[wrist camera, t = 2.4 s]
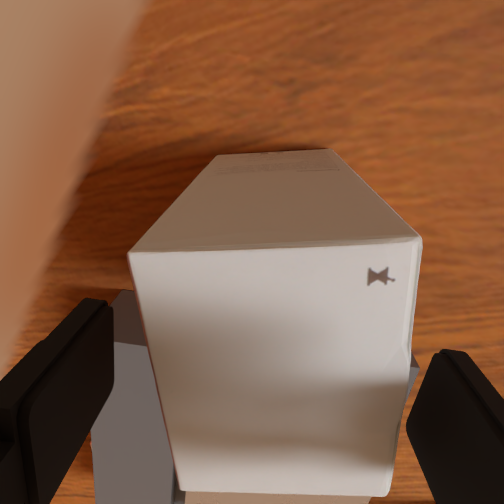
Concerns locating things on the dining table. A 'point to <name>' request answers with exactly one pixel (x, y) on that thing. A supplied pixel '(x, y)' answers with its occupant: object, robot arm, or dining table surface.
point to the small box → (279, 326)
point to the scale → (138, 422)
